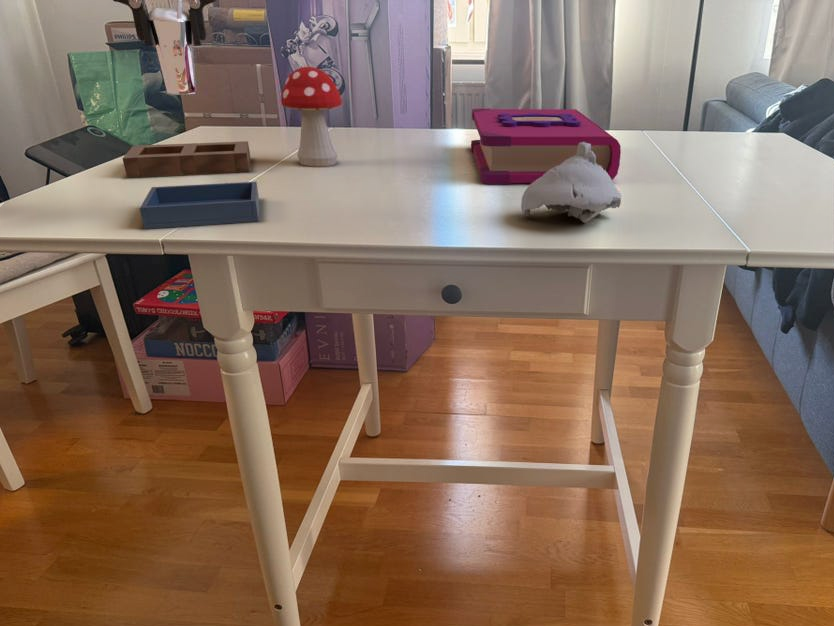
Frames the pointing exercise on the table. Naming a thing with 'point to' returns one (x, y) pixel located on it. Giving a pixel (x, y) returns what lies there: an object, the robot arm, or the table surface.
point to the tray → (200, 205)
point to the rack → (187, 159)
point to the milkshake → (174, 48)
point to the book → (536, 143)
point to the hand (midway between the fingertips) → (174, 44)
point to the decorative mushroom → (312, 113)
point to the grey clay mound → (573, 187)
